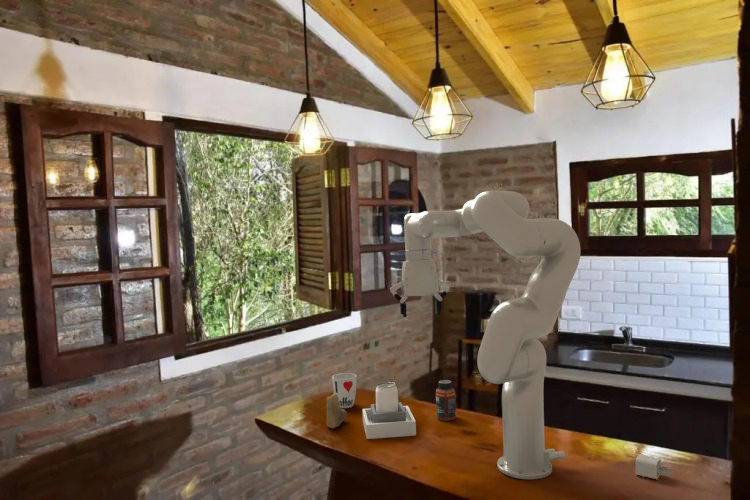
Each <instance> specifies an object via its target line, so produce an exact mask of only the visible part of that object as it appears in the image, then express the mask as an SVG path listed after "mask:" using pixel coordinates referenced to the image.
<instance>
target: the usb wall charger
mask: <svg viewBox="0 0 750 500" xmlns="http://www.w3.org/2000/svg"><path fill="white" fill-rule="evenodd" d="M634 463H635V465H634V466H635V475H636V474H637V475H643V476H648V477H654V478H657V477H658V475H659V474H661V475H665V476H672V475H671V473H673V472H674V471H673V469H672V468H669V467H665V466H662V465H661V463H662V462H661V458H658V457H655V456H649V455H646V454H645V455H644V454H640V453H639V454H638V455H637V457H636V458H635V462H634Z"/></svg>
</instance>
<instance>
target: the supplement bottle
mask: <svg viewBox="0 0 750 500" xmlns="http://www.w3.org/2000/svg"><path fill="white" fill-rule="evenodd" d="M437 384H438V387H437V388H436V389H435V403H436V404H435V405H436V418H437V419H438V420H440V421H443V422H444V421H445V422H450V421H453V420H455V419H456V418H457V404H456V403H457V400H456V390H455V388H454V387H453V385H452V384H453V383H452V381H451V380H450V379H443V380H439V381H438V383H437Z"/></svg>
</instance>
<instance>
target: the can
mask: <svg viewBox="0 0 750 500" xmlns="http://www.w3.org/2000/svg"><path fill="white" fill-rule="evenodd" d="M398 392H399V391H398V388H397V384H396V383H395V382H392V381H383V382H379V383H376V388H375V404H376V413H387V412H398V402H399V393H398Z"/></svg>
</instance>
